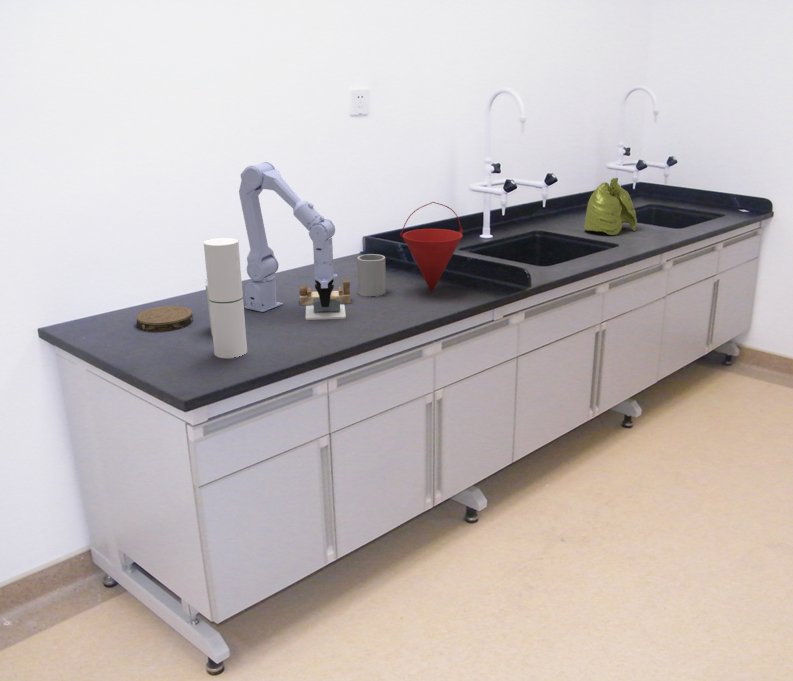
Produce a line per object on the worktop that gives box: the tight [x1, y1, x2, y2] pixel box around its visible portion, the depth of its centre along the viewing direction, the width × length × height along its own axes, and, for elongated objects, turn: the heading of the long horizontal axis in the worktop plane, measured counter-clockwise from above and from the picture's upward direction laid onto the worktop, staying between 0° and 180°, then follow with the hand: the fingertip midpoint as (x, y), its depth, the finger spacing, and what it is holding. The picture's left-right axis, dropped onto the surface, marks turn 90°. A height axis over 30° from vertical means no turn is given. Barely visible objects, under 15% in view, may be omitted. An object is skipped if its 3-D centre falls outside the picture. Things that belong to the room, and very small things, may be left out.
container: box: [203, 237, 248, 359], centre depth 196 cm, size 9×9×30 cm
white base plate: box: [305, 304, 347, 321], centre depth 232 cm, size 12×12×1 cm
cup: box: [356, 253, 387, 297], centre depth 250 cm, size 9×9×12 cm
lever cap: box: [312, 297, 341, 312], centre depth 231 cm, size 8×4×4 cm, turn 96°
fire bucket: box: [399, 201, 464, 292], centre depth 248 cm, size 22×20×30 cm
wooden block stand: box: [298, 279, 352, 306], centre depth 242 cm, size 16×6×6 cm, turn 95°
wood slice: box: [136, 305, 194, 333], centre depth 224 cm, size 16×16×3 cm
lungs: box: [583, 177, 638, 236], centre depth 334 cm, size 25×16×24 cm, turn 126°
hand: (325, 304), depth 231 cm, fingers closed on lever cap, 4 cm apart
